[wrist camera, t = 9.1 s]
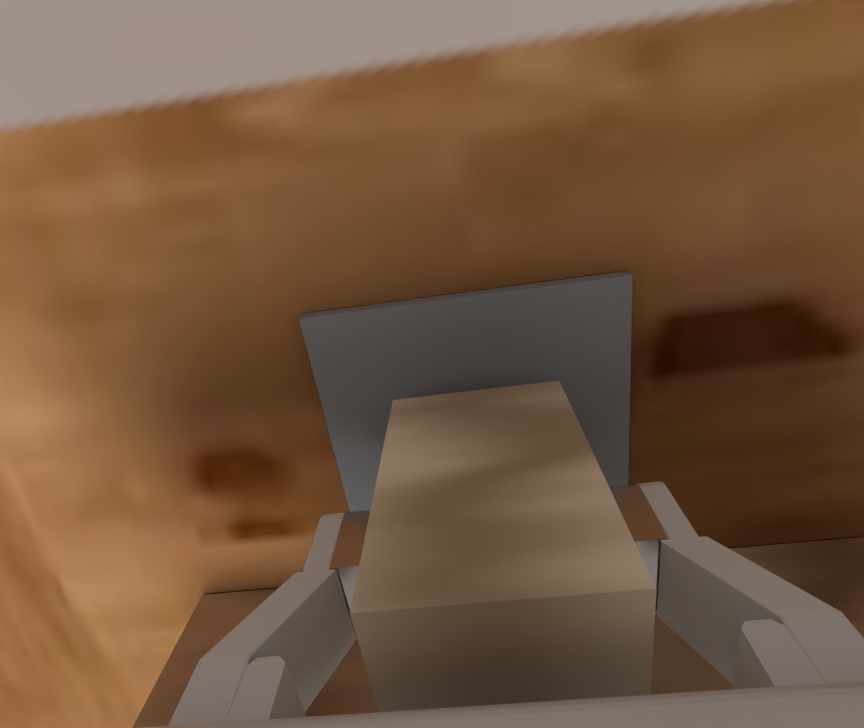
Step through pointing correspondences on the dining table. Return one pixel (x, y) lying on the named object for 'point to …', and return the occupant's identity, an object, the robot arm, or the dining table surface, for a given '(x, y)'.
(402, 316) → the mat
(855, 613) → the crate
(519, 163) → the dining table surface
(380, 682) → the block
